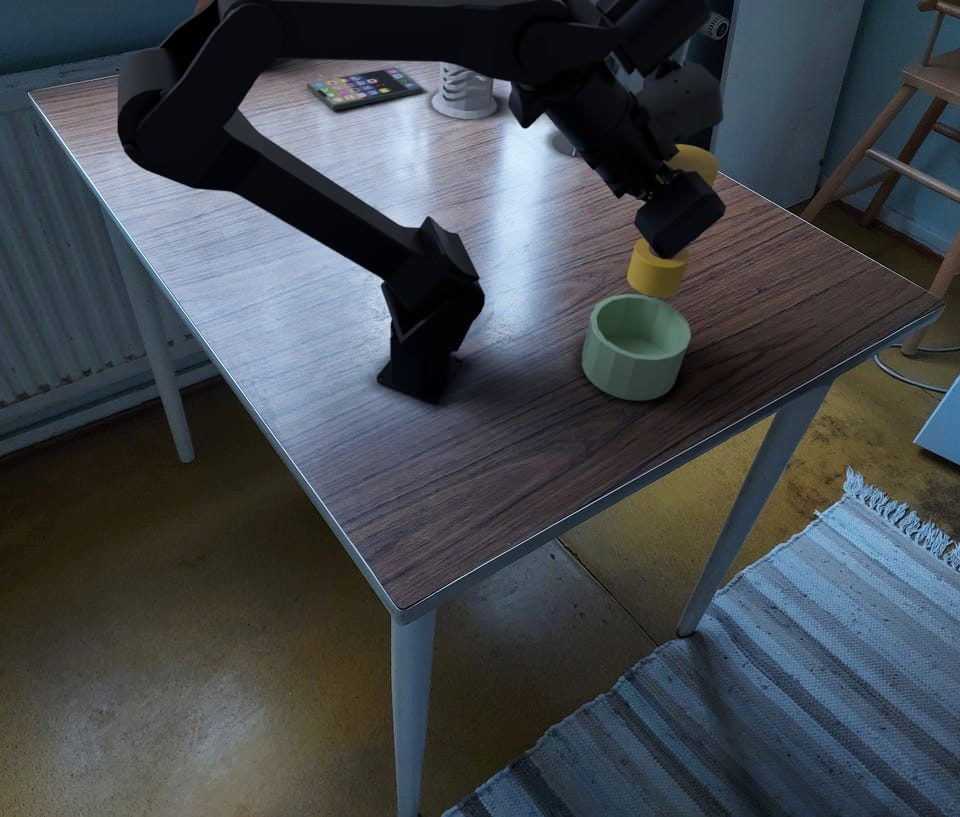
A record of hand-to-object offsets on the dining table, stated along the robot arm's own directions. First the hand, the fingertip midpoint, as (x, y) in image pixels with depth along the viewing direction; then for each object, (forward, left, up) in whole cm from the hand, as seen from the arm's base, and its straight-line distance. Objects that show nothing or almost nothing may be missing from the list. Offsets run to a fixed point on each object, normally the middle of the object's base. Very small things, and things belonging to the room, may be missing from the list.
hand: (683, 221), depth 72 cm
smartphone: (+34, +54, -14) cm, 65 cm away
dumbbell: (-1, +1, -7) cm, 7 cm away
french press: (+39, +39, -14) cm, 56 cm away
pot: (-5, +1, -14) cm, 15 cm away
